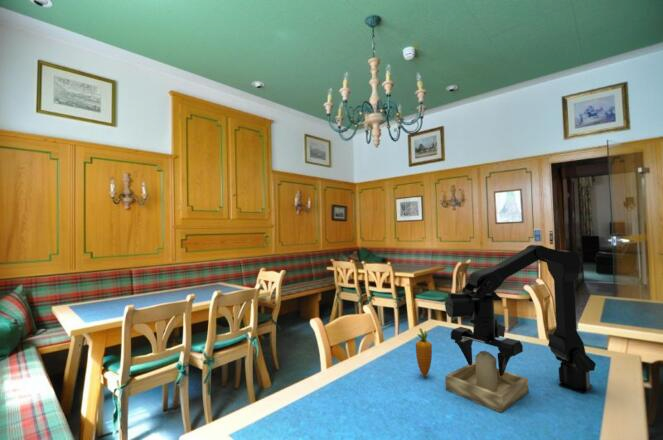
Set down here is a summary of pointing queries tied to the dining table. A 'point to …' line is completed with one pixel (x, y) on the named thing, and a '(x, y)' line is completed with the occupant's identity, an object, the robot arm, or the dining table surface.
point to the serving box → (500, 400)
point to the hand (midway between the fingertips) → (485, 370)
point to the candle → (486, 371)
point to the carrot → (423, 353)
